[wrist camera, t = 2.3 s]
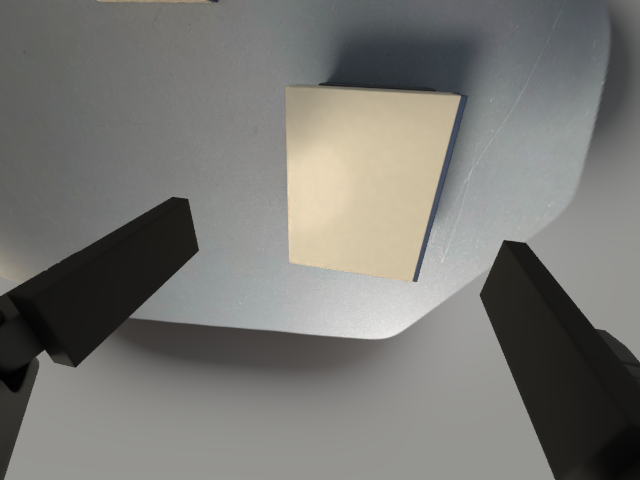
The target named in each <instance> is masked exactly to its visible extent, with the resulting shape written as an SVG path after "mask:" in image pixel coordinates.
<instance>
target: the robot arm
mask: <svg viewBox="0 0 640 480" xmlns="http://www.w3.org/2000/svg"><path fill="white" fill-rule="evenodd" d="M198 251H199V248H198V244H197V239H196V234H195V229H194V225H193V220H192V215H191V210H190V206H189V201H188V199H185V198H177V197H172V198H170V199H168V200H167V201H165V202H163V203H161V204H160V205H158V206H156V207H155V208H153V209H151V210H149V211H148V212H146V213H144V214H143V215H141V216H139V217H137V218H136V219H134V220H132V221H131V222H129V223H127V224H125V225H124V226H122V227H120V228H119V229H117V230H115V231H113V232H112V233H110V234H108V235H107V236H105V237H103V238H101V239H100V240H98V241H96V242H95V243H93V244H91V245H89V246H88V247H86V248H84V249H83V250H81V251H79V252H76V253H74V254H72V255H71V256H69V257H67V258H66V259H64V260H62V261H60V263H57V264H55V265H53V266H52V267H50V268H48V270H47V271H43V272H41V273H40V274H38V275H36V276H35V277H33V278H31V279H29V280H28V281H26V282H24V283H22V284H21V285H19V286H17V287H16V288H14V289H12V290H10V291H9V292H7V293H5V294H3V295H2V296H0V480H4V477H5V474H6V471H7V468H8V465H9V461H10V458H11V455H12V452H13V449H14V446H15V442H16V439H17V436H18V433H19V430H20V426H21V423H22V420H23V417H24V414H25V411H26V407H27V404H28V401H29V398H30V395H31V391H32V388H33V385H34V382H35V379H36V375H37V372H38V369H39V361H38V359H37V358H36V356H37V355H39V354H40V353H41V352H42V351H44V350H46V352H47V353H48V354H49V356H50V357H51V359H52V360H53V361H54V363H58V364H63V365H67V366H71V367H77V366H78V365H79V364H80V363H81V362H82V361H83V360H84V359H85V358H86V357H87V356H88V355H89V354H90V353H91V352H92V351H93V350H95V348H97V347H98V346H99V345H100V344H101V343H102V342H103V341H104V340H105V339H106V338H107V337H108V336H109V335H110V334H111V333H112V332H114V331H115V330H116V329H117V328H118V327H119V326H120V325H121V324H122V323H123V322H124V321H125V320H126V319H127V318H128V317H129V316H130V315H131V314H133V313H134V312H135V311H136V310H137V309H138V308H139V307H140V306H141V305H142V304H143V303H144V302H145V301H146V300H147V299H148V298H149V297H150V296H152V295H153V294H154V293H155V292H156V291H157V290H158V289H159V288H160V287H161V286H162V285H163V284H164V283H165V282H166V281H167V280H168V279H169V278H170V277H172V276H173V275H174V274H175V273H176V272H177V271H178V270H179V269H180V268H181V267H182V266H183V265H184V264H185V263H186V262H187V261H188V260H189V259H191V258H192V257H193V256H194V255H195V254H196V253H197V252H198ZM480 297H481V300H482V302H483V304H484V307H485V310H486V312H487V314H488V317H489V319H490V322H491V324H492V327H493V329H494V331H495V334H496V336H497V339H498V341H499V343H500V346H501V349H502V351H503V353H504V356H505V358H506V361H507V363H508V366H509V368H510V370H511V373H512V375H513V378H514V380H515V382H516V385H517V388H518V390H519V392H520V395H521V397H522V400H523V402H524V405H525V407H526V409H527V412H528V414H529V417H530V419H531V422H532V424H533V426H534V429H535V431H536V434H537V436H538V439H539V441H540V444H541V446H542V448H543V451H544V453H545V456H546V458H547V460H548V463H549V466H550V468H551V470H552V473H553V475H554V478H555V480H640V362H639V361H638V360H637V359H636V357H635V356H634V355H633V354H632V353H631V352H630V350H628V348H627V347H626V346H625V345H623V344H622V343H621V342H619V341H618V340H617V339H616V338H614V337H613V336H612V335H610V334H609V333H608V332H606V331H605V330H599V329H595V328H594V327H593V326H592V324H591V323H590V322H589V321H588V319H587V318H586V317H585V316H584V314H583V313H582V312H581V311H580V309H579V308H578V307H577V306H576V304H575V303H574V302H573V301H572V300H571V298H570V297H569V296H568V295H567V293H566V292H565V291H564V290H563V288H562V287H561V286H560V285H559V283H558V282H557V281H556V280H555V278H554V277H553V276H552V275H551V273H550V272H549V271H548V270H547V269H546V267H545V266H544V265H543V264H542V263H541V261H540V260H539V259H538V257H536V255H535V254H534V252H533V251H532V250H531V249H530V247H529V246H528V245H527V244H526V243H522V242H515V241H507V240H504V241H503V243H502V246H501V248H500V250H499V252H498V255H497V257H496V259H495V261H494V264H493V266H492V268H491V271H490V273H489V275H488V277H487V280H486V282H485V284H484V287H483V289H482V291H481V293H480Z"/></svg>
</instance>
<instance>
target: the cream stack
mask: <svg viewBox="0 0 640 480" xmlns="http://www.w3.org/2000/svg"><path fill="white" fill-rule="evenodd" d="M97 1H101V2H187V3H213V2H217V0H97Z"/></svg>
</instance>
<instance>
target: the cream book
mask: <svg viewBox="0 0 640 480" xmlns="http://www.w3.org/2000/svg"><path fill="white" fill-rule="evenodd" d="M466 100H467V95H463V94H460V93H451V92H432V91H413V90H394V89H376V88H357V87H338V86H319V85H300V84H296V85H289V86H285V104H286V147H287V191H288V234H289V263H294V264H301V265H307V266H313V267H320V268H326V269H332V270H339V271H345V272H352V273H358V274H364V275H371V276H377V277H384V278H390V279H396V280H403V281H409V282H412V281H414V282H417V280H418V276H419V273H420V269H421V265H422V262H423V258H424V254H425V251H426V247H427V243H428V240H429V236H430V232H431V229H432V225H433V221H434V218H435V214H436V210H437V207H438V203H439V199H440V196H441V192H442V188H443V185H444V181H445V177H446V174H447V170H448V166H449V163H450V159H451V155H452V152H453V148H454V144H455V141H456V137H457V133H458V130H459V126H460V122H461V119H462V115H463V111H464V108H465V104H466Z"/></svg>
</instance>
